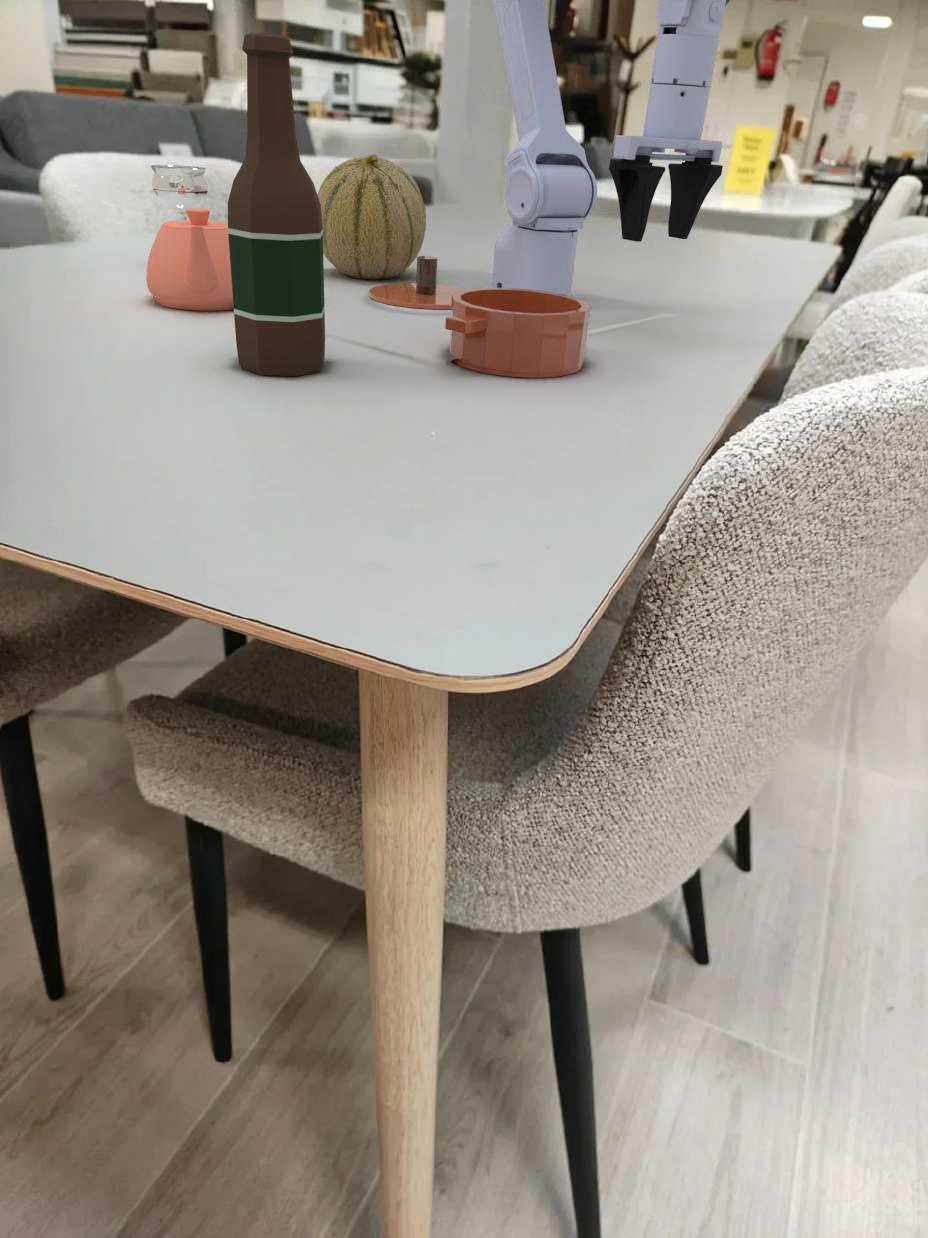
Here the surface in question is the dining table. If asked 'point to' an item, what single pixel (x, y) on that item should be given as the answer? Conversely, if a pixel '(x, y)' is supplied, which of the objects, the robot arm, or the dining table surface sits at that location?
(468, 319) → the faceted orange tub
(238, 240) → the beer bottle
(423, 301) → the pot lid
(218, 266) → the teapot
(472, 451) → the dining table surface
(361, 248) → the cantaloupe
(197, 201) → the wineglass
